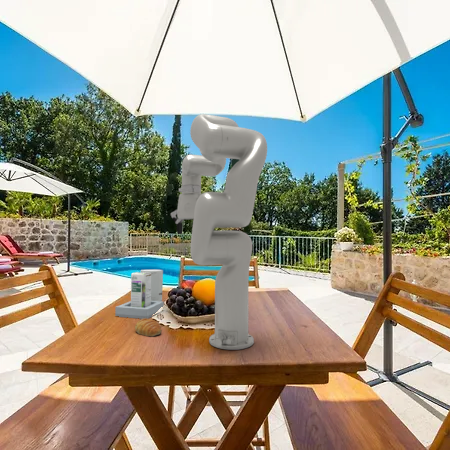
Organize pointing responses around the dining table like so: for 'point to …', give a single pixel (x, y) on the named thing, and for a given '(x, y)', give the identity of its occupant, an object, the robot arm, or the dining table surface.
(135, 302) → the syrup box
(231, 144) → the robot arm
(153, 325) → the pastry
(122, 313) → the socket block
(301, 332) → the dining table surface
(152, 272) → the skincare box
